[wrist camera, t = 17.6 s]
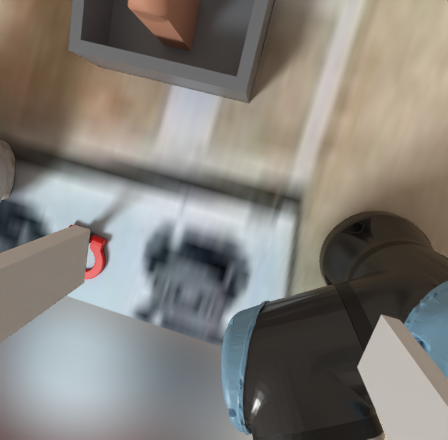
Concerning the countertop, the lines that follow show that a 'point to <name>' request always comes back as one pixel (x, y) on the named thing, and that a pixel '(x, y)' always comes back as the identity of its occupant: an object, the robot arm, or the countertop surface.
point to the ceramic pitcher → (6, 169)
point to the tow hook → (96, 255)
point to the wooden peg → (168, 20)
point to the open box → (174, 57)
